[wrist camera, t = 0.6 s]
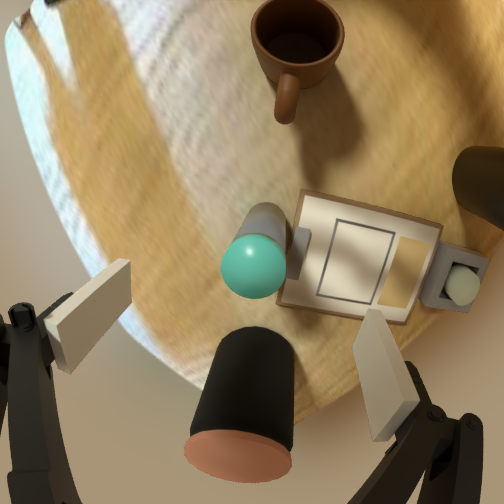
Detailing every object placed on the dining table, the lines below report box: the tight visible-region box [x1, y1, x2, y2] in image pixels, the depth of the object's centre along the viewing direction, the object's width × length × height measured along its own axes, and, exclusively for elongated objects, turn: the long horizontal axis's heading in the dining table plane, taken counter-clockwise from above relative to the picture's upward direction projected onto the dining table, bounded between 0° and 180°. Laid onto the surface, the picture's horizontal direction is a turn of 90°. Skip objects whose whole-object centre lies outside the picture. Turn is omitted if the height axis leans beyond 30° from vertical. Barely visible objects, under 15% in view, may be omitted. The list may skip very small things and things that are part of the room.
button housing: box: [418, 241, 490, 313], centre depth 31 cm, size 8×8×2 cm
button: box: [443, 264, 480, 306], centre depth 29 cm, size 4×4×3 cm
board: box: [276, 189, 444, 325], centre depth 32 cm, size 14×18×2 cm
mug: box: [251, 0, 345, 124], centre depth 22 cm, size 12×8×9 cm, turn 171°
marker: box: [221, 202, 286, 299], centre depth 26 cm, size 4×4×14 cm
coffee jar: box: [184, 326, 294, 483], centre depth 31 cm, size 11×11×18 cm
